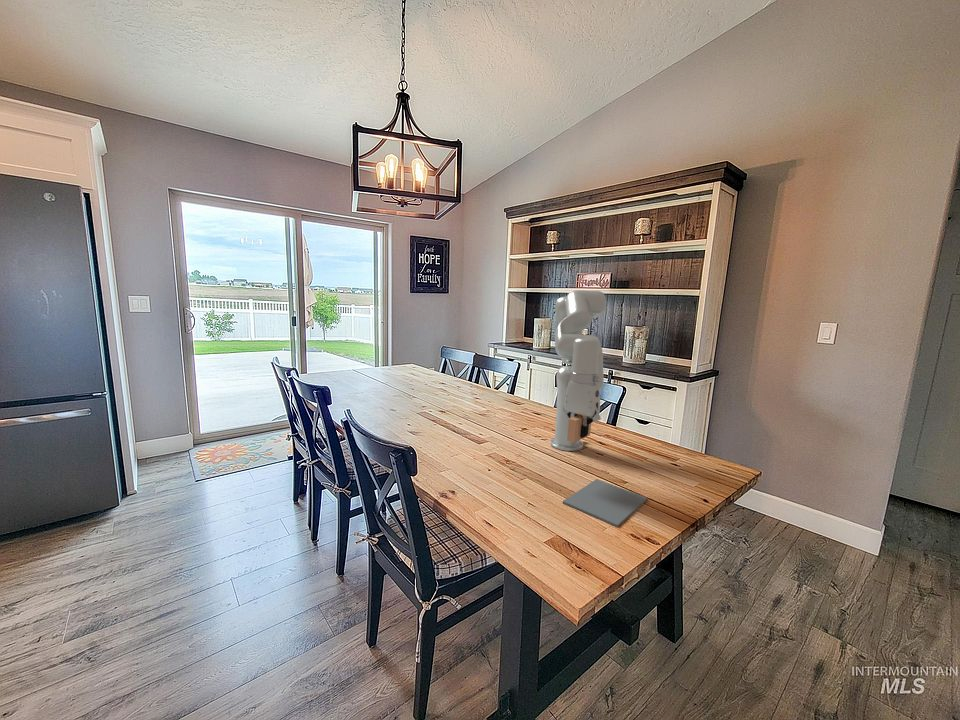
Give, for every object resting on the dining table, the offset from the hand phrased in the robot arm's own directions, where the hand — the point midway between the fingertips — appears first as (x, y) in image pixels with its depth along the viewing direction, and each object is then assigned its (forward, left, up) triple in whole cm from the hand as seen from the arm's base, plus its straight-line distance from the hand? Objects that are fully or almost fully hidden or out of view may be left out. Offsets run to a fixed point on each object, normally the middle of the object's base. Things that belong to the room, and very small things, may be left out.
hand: (579, 435), depth 123 cm
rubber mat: (+6, +13, -15) cm, 21 cm away
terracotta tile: (0, 0, -1) cm, 1 cm away
